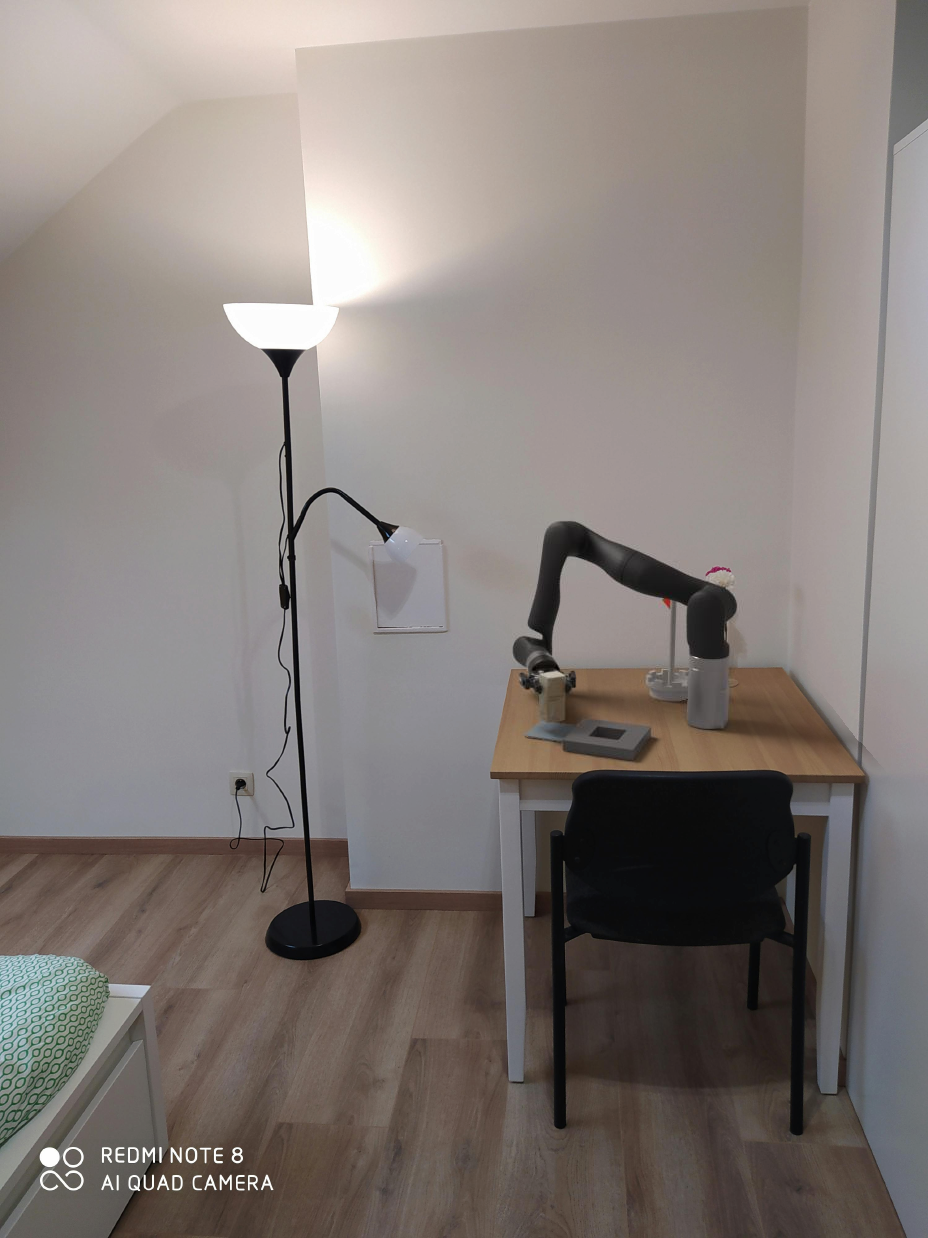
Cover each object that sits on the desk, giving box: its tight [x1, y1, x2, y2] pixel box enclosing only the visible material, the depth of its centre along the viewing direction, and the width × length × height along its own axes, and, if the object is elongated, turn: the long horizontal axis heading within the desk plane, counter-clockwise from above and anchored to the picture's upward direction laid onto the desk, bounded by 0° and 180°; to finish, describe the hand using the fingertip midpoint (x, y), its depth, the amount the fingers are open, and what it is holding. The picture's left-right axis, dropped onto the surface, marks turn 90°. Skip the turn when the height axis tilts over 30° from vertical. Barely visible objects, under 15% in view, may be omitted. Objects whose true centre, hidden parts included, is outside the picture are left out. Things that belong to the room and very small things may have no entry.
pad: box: [524, 720, 578, 744], centre depth 216 cm, size 10×11×1 cm
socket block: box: [562, 717, 652, 761], centre depth 208 cm, size 16×16×2 cm
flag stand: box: [645, 598, 689, 702], centre depth 239 cm, size 13×13×30 cm
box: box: [538, 671, 567, 723], centre depth 214 cm, size 5×4×11 cm
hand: (554, 689), depth 211 cm, fingers closed on box, 6 cm apart
